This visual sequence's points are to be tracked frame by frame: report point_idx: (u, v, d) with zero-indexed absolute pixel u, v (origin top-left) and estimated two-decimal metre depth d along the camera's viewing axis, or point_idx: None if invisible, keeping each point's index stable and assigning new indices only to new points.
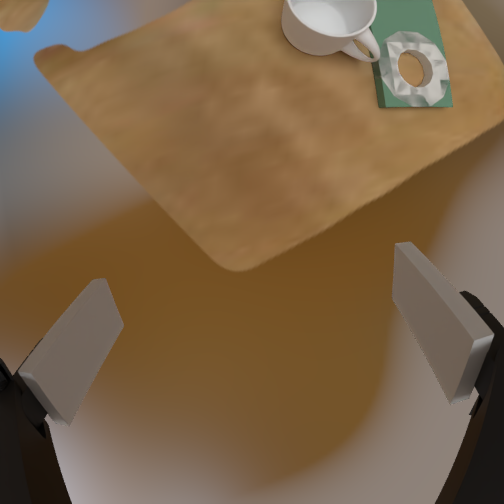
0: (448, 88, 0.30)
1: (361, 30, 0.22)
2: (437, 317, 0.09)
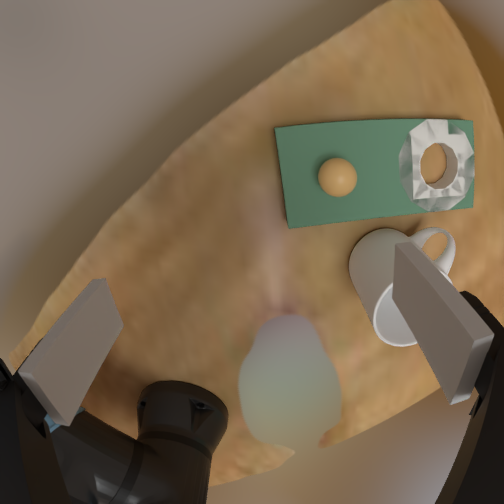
0: (455, 123, 0.26)
1: None
2: (437, 317, 0.09)
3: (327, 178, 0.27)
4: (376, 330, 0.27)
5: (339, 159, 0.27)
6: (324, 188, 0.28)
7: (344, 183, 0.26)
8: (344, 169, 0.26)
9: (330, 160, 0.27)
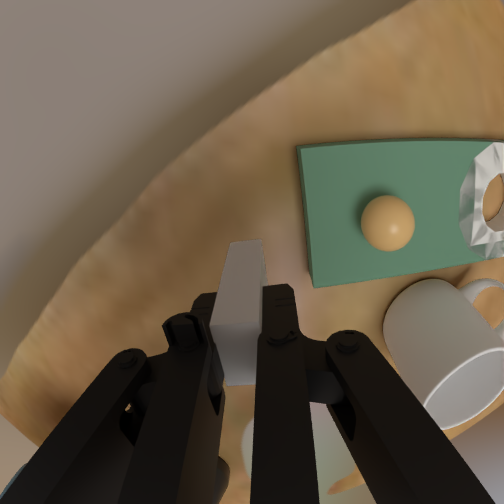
0: None
1: None
2: None
3: (377, 227, 0.18)
4: None
5: (393, 199, 0.18)
6: (371, 240, 0.19)
7: (401, 235, 0.18)
8: (402, 215, 0.17)
9: (381, 200, 0.18)
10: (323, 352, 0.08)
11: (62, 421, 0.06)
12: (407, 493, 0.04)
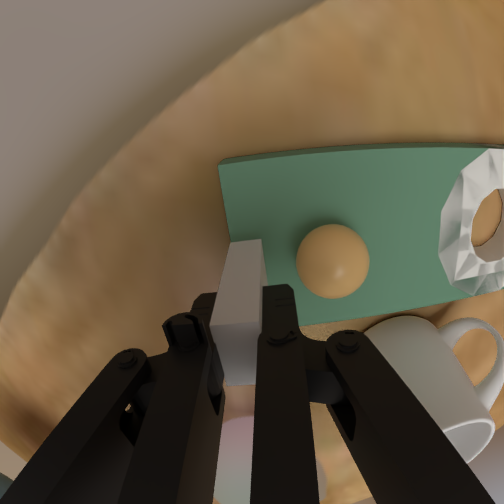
0: None
1: (493, 428, 0.12)
2: None
3: (311, 271, 0.14)
4: None
5: (338, 231, 0.14)
6: (306, 285, 0.15)
7: (344, 282, 0.14)
8: (346, 255, 0.13)
9: (320, 232, 0.14)
10: (323, 352, 0.08)
11: (62, 421, 0.06)
12: (406, 493, 0.04)
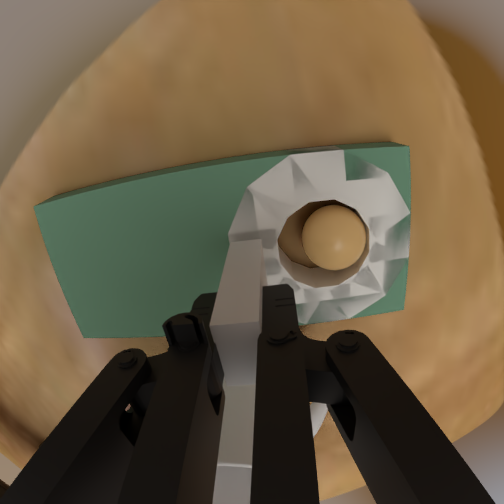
0: (365, 155, 0.15)
1: None
2: None
3: (363, 243, 0.16)
4: None
5: (345, 207, 0.17)
6: (352, 262, 0.17)
7: None
8: None
9: (346, 215, 0.16)
10: (323, 352, 0.08)
11: (62, 421, 0.06)
12: (407, 493, 0.04)
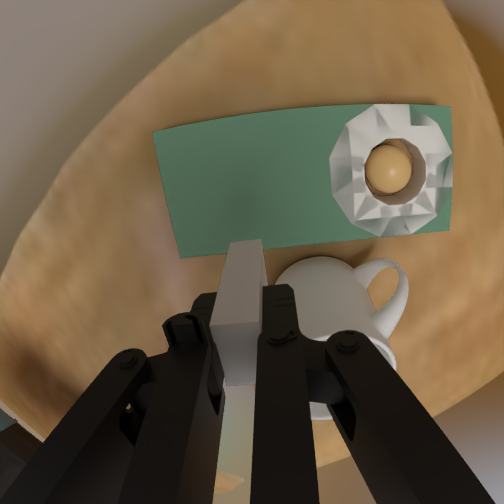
0: (423, 109, 0.19)
1: (390, 354, 0.18)
2: None
3: (403, 174, 0.20)
4: None
5: (396, 147, 0.20)
6: (394, 187, 0.21)
7: (410, 175, 0.21)
8: (408, 159, 0.21)
9: (392, 151, 0.20)
10: (323, 352, 0.08)
11: (62, 421, 0.06)
12: (407, 493, 0.04)
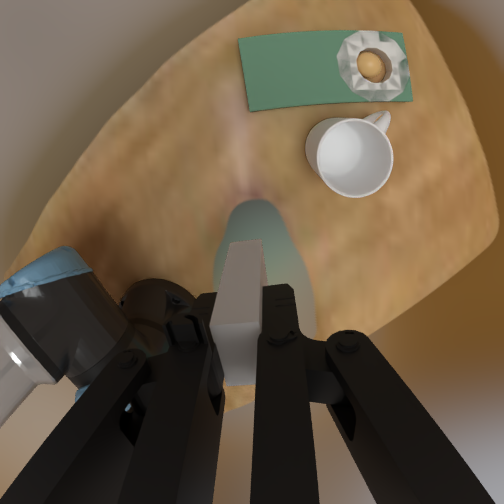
0: (386, 34, 0.31)
1: (386, 138, 0.30)
2: None
3: (374, 63, 0.33)
4: (322, 175, 0.32)
5: (371, 53, 0.33)
6: (371, 71, 0.33)
7: (381, 67, 0.34)
8: None
9: (368, 53, 0.33)
10: (323, 352, 0.08)
11: (62, 421, 0.06)
12: (407, 493, 0.04)
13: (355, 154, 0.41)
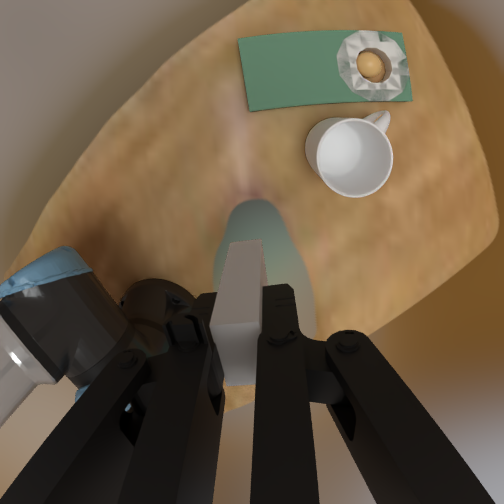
0: (385, 33, 0.32)
1: (386, 138, 0.30)
2: None
3: (375, 63, 0.33)
4: (322, 175, 0.32)
5: None
6: (371, 70, 0.33)
7: (381, 67, 0.34)
8: None
9: (368, 53, 0.33)
10: (323, 352, 0.08)
11: (62, 421, 0.06)
12: (407, 493, 0.04)
13: (355, 154, 0.41)
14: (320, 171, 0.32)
